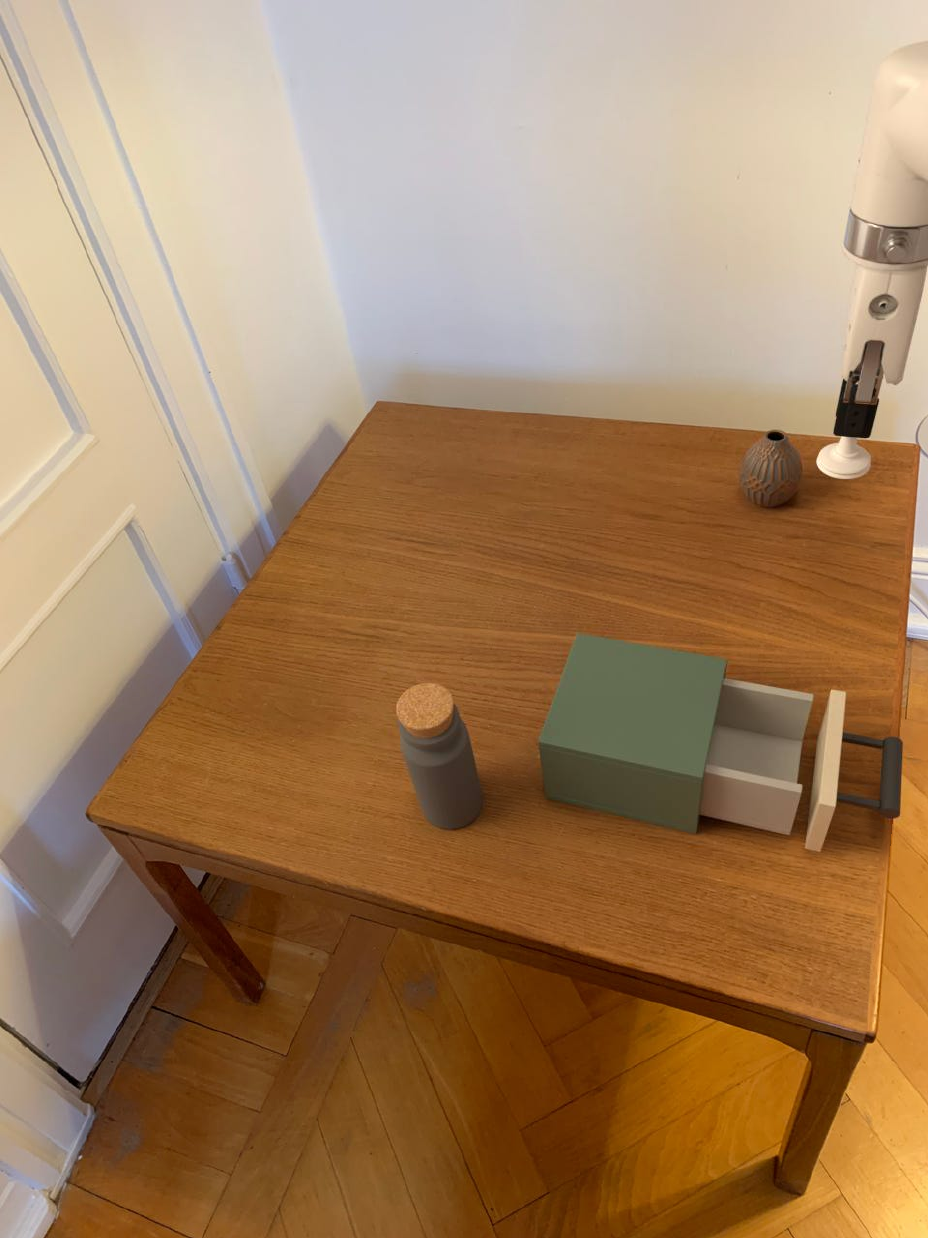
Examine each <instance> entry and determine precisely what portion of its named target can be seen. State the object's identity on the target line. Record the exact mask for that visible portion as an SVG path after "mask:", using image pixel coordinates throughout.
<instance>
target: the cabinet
mask: <svg viewBox="0 0 928 1238" xmlns="http://www.w3.org/2000/svg"><path fill="white" fill-rule="evenodd" d="M727 667H728V658H725V657H717V656H712V655H707V654H701V653H695V652H689V651H684V650H677V649H672V648H666V647H661V646H655V645H649V644H643V643H637V642H633V641H632V642H631V641H626V640H620V639H615V638H609V637H603V636H597V635H592V634H586V633H579V632H577V633H576V635H575V637H574V639H573V643H572V646H571V648H570V651H569V654H568V657H567V660H566V662H565V665H564V668H563V671H562V673H561V676H560V680H559V682H558V685H557V686H556V687H557V688H556V690H555V693H554V695H553V698H552V702H551V704H550V707H549V710H548V713H547V716H546V718H545V721H544V724H543V727H542V730H541V732H540V735H539V737H538V740H537V743H538V751H539V757H540V759H539V760H540V767H541V776H542V781H543V789H544V798H545V799H547V800H550V801H551V800H552V801H556V802H561V803H564V804H569V805H573V806H577V807H581V808H584V809H589V810H593V811H597V812H601V813H606V814H610V815H614V816H618V817H621V818H626V819H631V820H634V821H639V822H642V823H647V824H651V825H654V826H655V825H656V826H660V827H662V828H663V827H664V828H668V829H672V830H676V831H679V832H685V833H689V834H691V835H697V833H698V828H699V823H700V822H699V821H700V818H701V815H700V814H699V812H700V804H701V795H702V787H703V778H704V772H705V767H706V763H707V758H708V753H709V748H710V743H711V738H712V734H713V729H714V724H715V719H716V714H717V709H718V705H719V700H720V695H721V690H722V685H723V680H724V678H726V674H727Z"/></svg>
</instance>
